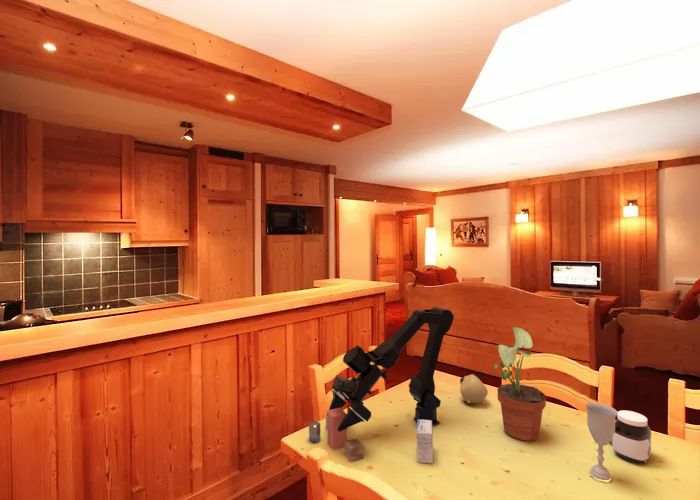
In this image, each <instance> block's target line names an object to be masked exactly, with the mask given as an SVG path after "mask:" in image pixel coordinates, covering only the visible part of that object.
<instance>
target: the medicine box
mask: <svg viewBox="0 0 700 500" xmlns="http://www.w3.org/2000/svg"><path fill="white" fill-rule="evenodd" d="M416 423H417V424H416V425H417V427H416V428H417V429H416V457H417V459H416V461H417V462H416V463H421V464H423V463H424V464H434V438H433V437H434V436H433V435H434V434H433V429H434V428H433V425H432V421H431V420H418V422H417V421H416Z"/></svg>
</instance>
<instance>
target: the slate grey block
mask: <svg viewBox="0 0 700 500" xmlns="http://www.w3.org/2000/svg"><path fill="white" fill-rule="evenodd" d="M325 429H326V431H327V432H328V428H327V416H325Z"/></svg>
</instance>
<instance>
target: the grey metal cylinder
mask: <svg viewBox="0 0 700 500" xmlns="http://www.w3.org/2000/svg"><path fill="white" fill-rule="evenodd" d="M321 431H322V430H321V422H319V421H312V422H310V423H309V424H308V442H309V443H311V444H318V443H320V442H321V441H322V439H321V438H322V437H321V436H322V435H321V434H322V433H321Z"/></svg>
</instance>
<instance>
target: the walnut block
mask: <svg viewBox="0 0 700 500" xmlns="http://www.w3.org/2000/svg"><path fill="white" fill-rule="evenodd" d="M344 456H345V457H346V458H347V460H348V461H349V462H350V463H354V462H356V461H360V460H364V445H363V444H362V442H361V441H360V440H359V439H358V438H354V439H350V440H347V441H345V447H344Z"/></svg>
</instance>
